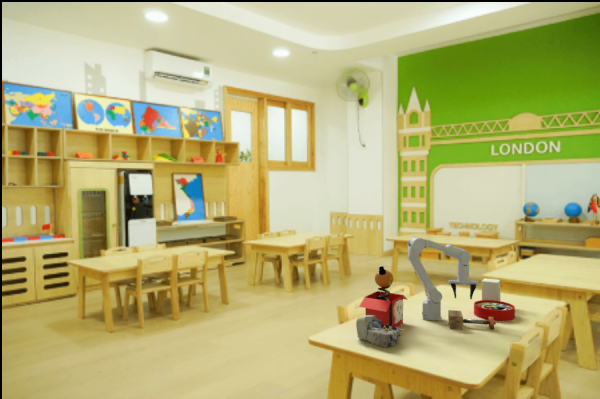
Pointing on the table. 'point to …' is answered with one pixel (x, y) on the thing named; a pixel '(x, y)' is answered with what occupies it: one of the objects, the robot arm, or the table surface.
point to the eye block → (455, 319)
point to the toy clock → (494, 310)
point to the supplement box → (491, 289)
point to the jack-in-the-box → (384, 301)
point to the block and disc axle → (482, 322)
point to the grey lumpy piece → (377, 331)
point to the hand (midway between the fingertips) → (463, 298)
